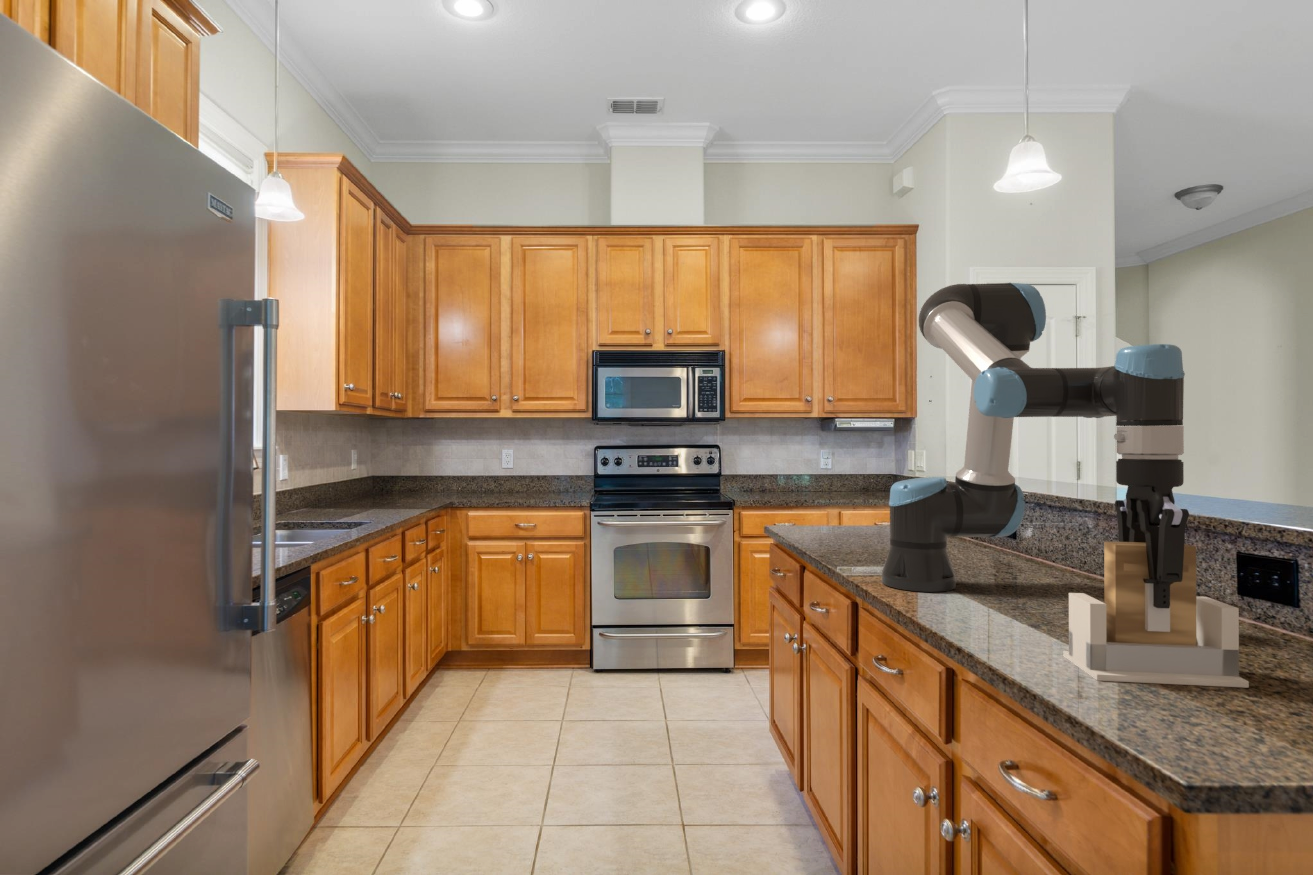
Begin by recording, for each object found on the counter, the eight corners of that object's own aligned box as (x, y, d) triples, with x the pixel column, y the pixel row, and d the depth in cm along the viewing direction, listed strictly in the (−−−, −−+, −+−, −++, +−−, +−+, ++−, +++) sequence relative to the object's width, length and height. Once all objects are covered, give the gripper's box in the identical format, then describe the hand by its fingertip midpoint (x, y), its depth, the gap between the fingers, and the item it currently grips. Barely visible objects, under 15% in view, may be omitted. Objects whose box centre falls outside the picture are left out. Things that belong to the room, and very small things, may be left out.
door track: (1063, 656, 99) (1063, 589, 99) (1198, 661, 96) (1198, 593, 96) (1097, 680, 89) (1096, 606, 89) (1248, 687, 86) (1248, 611, 86)
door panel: (1104, 639, 95) (1103, 541, 95) (1182, 643, 94) (1181, 542, 94) (1116, 646, 92) (1115, 545, 92) (1196, 650, 90) (1196, 546, 90)
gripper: (1091, 455, 101) (1091, 610, 101) (1152, 459, 85) (1153, 643, 85) (1145, 455, 100) (1146, 612, 100) (1218, 459, 84) (1219, 645, 84)
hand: (1149, 626), depth 93 cm, fingers closed on door panel, 3 cm apart
